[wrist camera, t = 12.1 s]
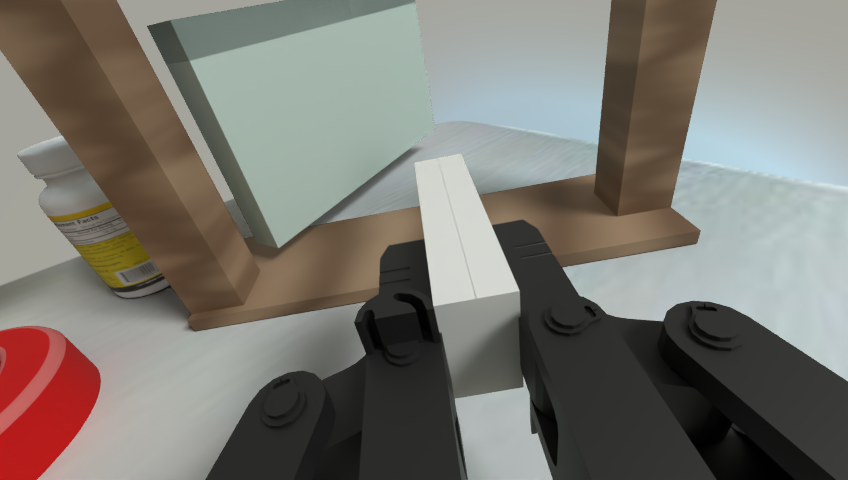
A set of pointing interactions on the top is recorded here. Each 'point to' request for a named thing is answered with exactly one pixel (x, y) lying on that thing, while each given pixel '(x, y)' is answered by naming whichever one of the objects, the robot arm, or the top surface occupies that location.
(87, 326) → the top surface
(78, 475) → the top surface
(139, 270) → the supplement bottle
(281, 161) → the gate
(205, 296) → the gate frame
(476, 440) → the top surface
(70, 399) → the decorative ornament
